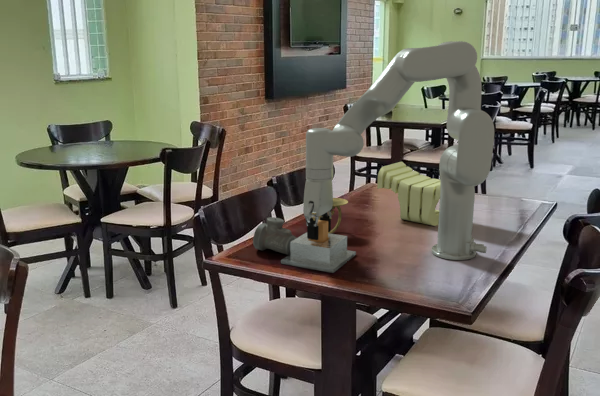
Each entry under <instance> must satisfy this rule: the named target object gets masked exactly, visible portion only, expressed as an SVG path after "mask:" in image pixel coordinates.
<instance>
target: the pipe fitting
mask: <svg viewBox="0 0 600 396" xmlns="http://www.w3.org/2000/svg"><path fill="white" fill-rule="evenodd" d="M284 223H285V220H284V219H282V218H280V217H273V216H271V217H266V222H263V223H260V224H258V225H257V227H256V228H255V230H254V233H253V238H252V244H253V247H254V248H255V249H256V250H259V251H265V250H270V251H271V250H272V251H274V252H278V253H281V254H284V255H286V256H288V255H290V254H291V251H290V242H291V241H293V240H295V239H296V238H297V236H295V235H294V234H293V233H292V231H291V230H290V229H288V228H284V227H283V226H284Z"/></svg>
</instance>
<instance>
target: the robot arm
mask: <svg viewBox="0 0 600 396" xmlns="http://www.w3.org/2000/svg"><path fill="white" fill-rule="evenodd" d="M477 61H478V53H477V51H476V48H475V47H474V46H473V44H471V43H469V42H467V41H463V40H459V41H457V40H456V41H452V40H451V41H444V42H441V43H439V44H438V45H432V46H424V47H407V48H403V49H401V50H400V51H399V52H398V53H396V54H395V56H394V57H393V58H392V59H391V61H390V62H389V63H388V64H387V65H386V67H385V68H384V69H383V70H382V72H381V73H380V74H379V75H378V77H377V78H376V79H375V81H374V82H373V83H372V84H371V86H370V87H369V88H368V89H367V90H366V91H365V92H364V93H363V94H362V95H361V96H360V97H359V98H358V100H357V101H355V102H354V104H352V105H351V106H350V108H348V110H347V111H346V112H345V113H344V115H343V116H342V117H341V118H340V120H339V121H338V122H337V123H336V125H335V126H334V127H333V129H331V128H326V127H314V128H310V129H307V131H306V133H305V179H306V180H305V182H304V183H305V185H304V191H303V192H304V193H303V217H304V218H305V224H306V230H307V231H306V232H307V238H308V239H312V240H318V233H319V226H317V223H318V219H319V216H321V217H320V220H323V221H328V232H330V231H331V230H332V219H331V218H332V216H333V215H332V213H331V212H332V210H333V209H332V206H333V198H334V193H333V192H334V191H333V189H334V188H333V180H334V156H339V157H348V158H350V157H355V156H357V155H359V154H360V153H361V152H362V150H363V148H364V145H365V143H364V142H365V141H364V137H363V135H362V134H363V133H364V131H365V130H367V128H369V126H370V125H371V124H372V123H373V122H375V121H376V120H378V119H379V118H380V117H382V116H384V115H386V114H388V113H390V112H392V110H394V108H395V107H396V106H397V104H398V103H399V102H401V100H402V98H403V97H404V96H405V94H406V93H407V92H408V91H409V90H410V89H411V88H412V86H413V85H414V84H415V83H421V82H430V81H436V80H441V79H443V80H444V79H446V80H447V83H448V84H447V85H448V88H449V89H448V105H447V106H448V107H447V117H446V131H447V133H448V135H449V136H450V137H451V138H452V139H454V140H455V141H457V144H454V145H451V146H449V147H447V148H446V149H445V150H444V151H443V152H442V154H441V155H440V158H439V164H438V165H439V167H438V169H439V179H440V199H439V206H438V207H439V209H438V210H439V223H438V225H437V226H438V227H437V243H436V244H434V245H432V246H431V253H432V254H433V255H434V256H436V257H438V258H441V259H446V260H451V261H467V260H470V259H473V258H475V257H476V255H477V253H481V254H487V251H488V250H487V249H488V248H487V245H486V246H485V244H483V243H476V242H475V238H474V237H473V225H474V223H473V222H474V211H475V210H474V209H475V200H476V198H475V196H476V195H475V194H476V191H475V187H476V186H479V185H481V184H483V183H484V181H486V180H487V178H488V176H489V174H490V171H491V166H492V159H493V151H494V140H495V126H494V121H493V119H492V117H491V116H490V115H489V114H488V113H487V112H486V111H484V110H482V108H481V107H482V93H483V92H482V79H481V76H480V75H481V74H480V72H479V70H478V68H477V66H476V65H477ZM312 213H316V215H315V214H312ZM311 217H315V221H314V220H313V218H311Z"/></svg>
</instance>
